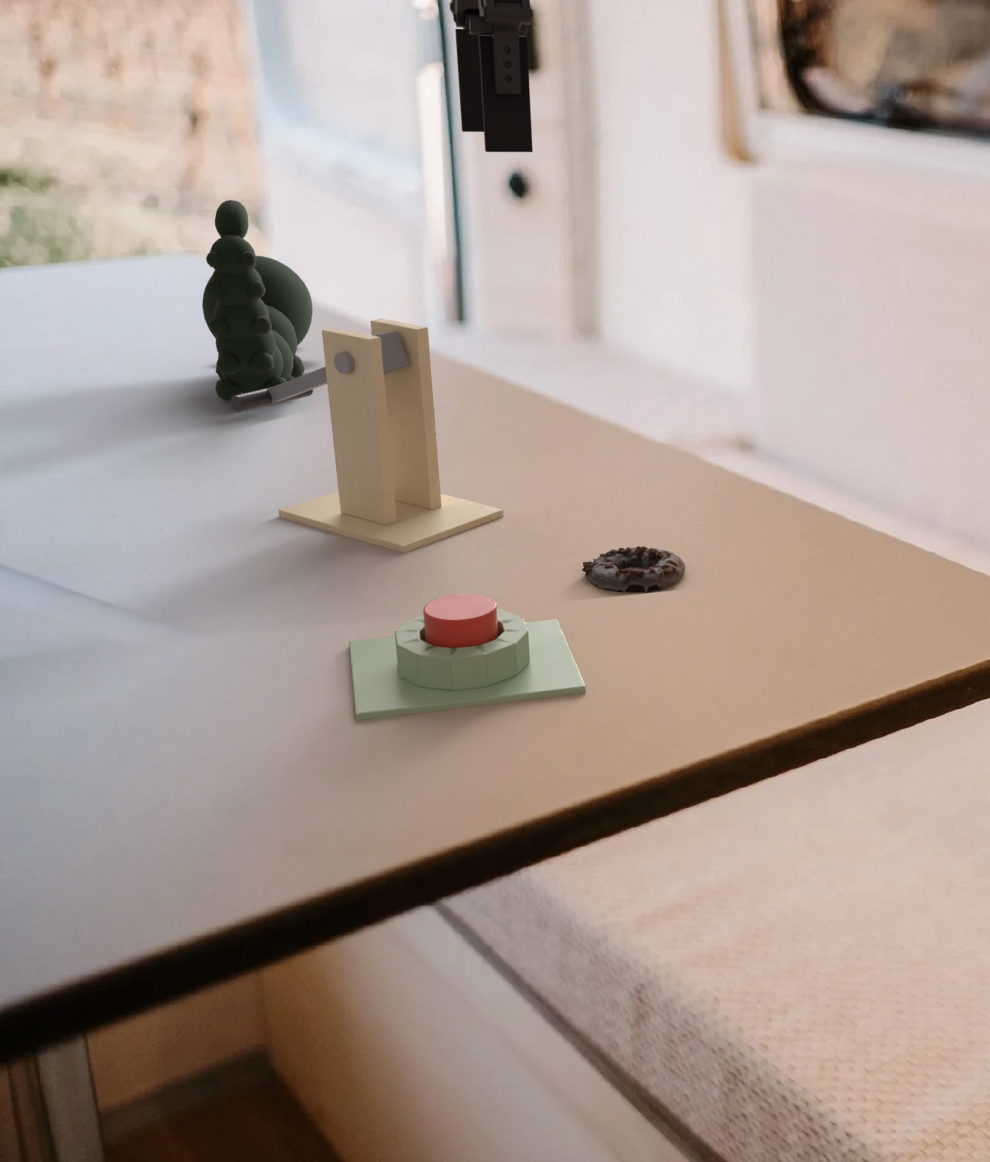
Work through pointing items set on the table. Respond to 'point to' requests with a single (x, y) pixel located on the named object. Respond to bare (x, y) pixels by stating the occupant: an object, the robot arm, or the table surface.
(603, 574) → the donut
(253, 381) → the toy figurine
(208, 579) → the table surface
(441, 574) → the table surface
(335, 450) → the bracket
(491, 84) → the robot arm
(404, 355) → the lever
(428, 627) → the button
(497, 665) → the button block
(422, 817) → the table surface
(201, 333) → the table surface
